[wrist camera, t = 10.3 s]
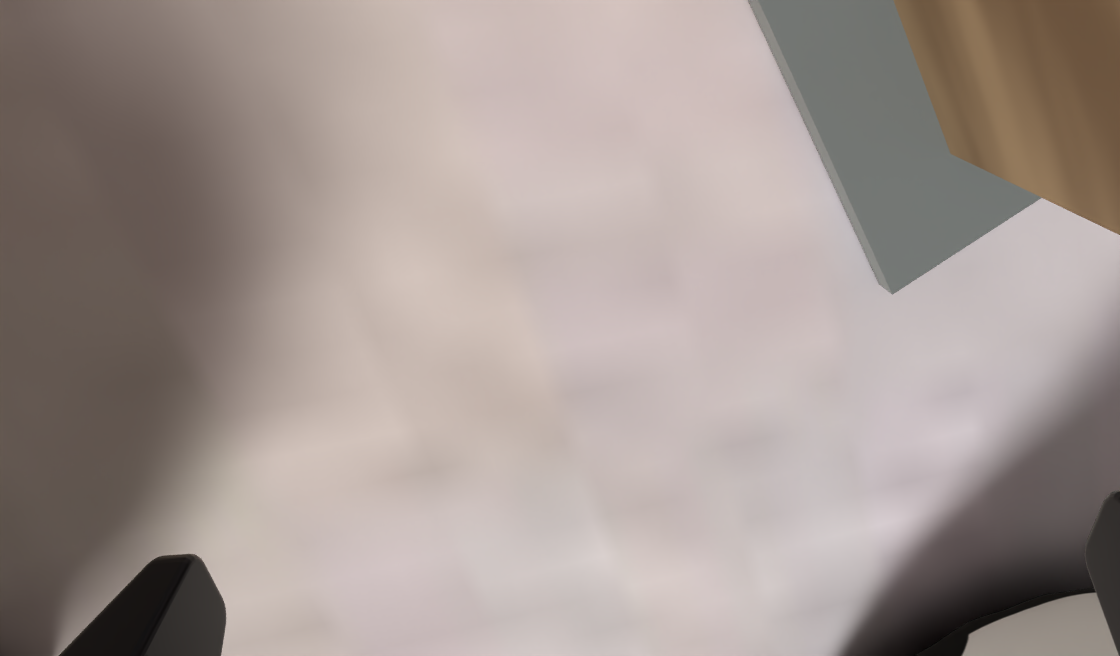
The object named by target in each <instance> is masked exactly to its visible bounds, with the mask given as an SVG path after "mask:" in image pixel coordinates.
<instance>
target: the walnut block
mask: <svg viewBox="0 0 1120 656" xmlns="http://www.w3.org/2000/svg"><path fill="white" fill-rule="evenodd" d="M893 1H894V3H895V6H896V9H897V11H898V14H899V17H900V19H901V22H902V25H903V27H904V30H905V33H906V36H907V38H908V41H909V44H910V46H911V49H912V52H913V54H914V57H915V60H916V62H917V65H918V68H919V70H920V73H921V76H922V78H923V81H924V84H925V86H926V89H927V92H928V95H929V97H930V100H931V103H932V105H933V108H934V111H935V113H936V116H937V119H938V121H939V124H940V127H941V129H942V132H943V135H944V137H945V140H946V143H947V145H948V148H949V151H950V154H952V155H954V156H956V157H958V158H960V159H962V160H964V161H967V162H969V163H971V164H973V165H975V166H977V167H979V168H981V169H983V170H985V171H987V172H989V173H992V174H994V175H996V176H998V177H1000V178H1002V179H1004V180H1006V181H1008V182H1010V183H1012V184H1015V185H1017V186H1019V187H1021V188H1023V189H1025V190H1027V191H1029V192H1031V193H1033V194H1035V195H1037V196H1040V197H1042V198H1044V199H1046V200H1048V201H1050V202H1052V203H1054V204H1056V205H1058V206H1060V207H1063V208H1065V209H1067V210H1069V211H1071V212H1073V213H1075V214H1077V215H1079V216H1081V217H1083V218H1085V219H1088V220H1090V221H1092V222H1094V223H1096V224H1098V225H1100V226H1102V227H1104V228H1106V229H1108V230H1110V231H1113V232H1115V233H1117V234H1119V235H1120V0H893Z"/></svg>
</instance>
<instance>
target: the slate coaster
mask: <svg viewBox="0 0 1120 656" xmlns="http://www.w3.org/2000/svg"><path fill="white" fill-rule="evenodd" d="M748 2H749V4H750V6H751V8H752V10H753V12H754V15H755V17H756V19H757V21H758V23H759V25H760V28H761V30H762V32H763V34H764V36H765V38H766V41H767V43H768V45H769V47H770V49H771V51H772V54H773V56H774V58H775V60H776V62H777V64H778V67H779V69H780V71H781V73H782V75H783V77H784V79H785V82H786V84H787V86H788V88H789V90H790V92H791V95H792V97H793V99H794V101H795V103H796V105H797V108H798V110H799V112H800V114H801V116H802V118H803V121H804V123H805V125H806V127H807V129H808V131H809V134H810V136H811V138H812V140H813V142H814V144H815V147H816V149H817V151H818V153H819V155H820V157H821V160H822V162H823V164H824V166H825V168H826V170H827V173H828V175H829V177H830V179H831V181H832V183H833V186H834V188H835V190H836V192H837V194H838V196H839V199H840V201H841V203H842V205H843V207H844V209H845V211H846V214H847V216H848V218H849V220H850V222H851V224H852V227H853V229H854V231H855V233H856V235H857V237H858V240H859V242H860V244H861V246H862V248H863V250H864V253H865V255H866V257H867V259H868V261H869V263H870V266H871V268H872V270H873V272H874V274H875V276H876V279H877V281H878V283H879V285H881V286H882V287H883V288H885V289H886V290H887V291H888V292H890V293H891V294H894V293H896V292H897V291H899V290H900V289H902V288H903V287H905V286H906V285H908V284H909V283H911V282H912V281H914V280H916V279H917V278H919V277H920V276H922V275H923V274H925V273H926V272H928V271H929V270H931V269H932V268H934V267H936V266H937V265H939V264H940V263H942V262H943V261H945V260H946V259H948V258H949V257H951V256H952V255H954V254H956V253H957V252H959V251H960V250H962V249H963V248H965V247H966V246H968V245H969V244H971V243H972V242H974V241H976V240H977V239H979V238H980V237H982V236H983V235H985V234H986V233H988V232H989V231H991V230H993V229H994V228H996V227H997V226H999V225H1000V224H1002V223H1003V222H1005V221H1006V220H1008V219H1009V218H1011V217H1013V216H1014V215H1016V214H1017V213H1019V212H1020V211H1022V210H1023V209H1025V208H1026V207H1028V206H1029V205H1031V204H1033V203H1034V202H1036V201H1037V200H1039V199H1040V198H1042V197H1040V196H1037V195H1035V194H1033V193H1031V192H1029V191H1027V190H1025V189H1023V188H1021V187H1019V186H1017V185H1015V184H1012V183H1010V182H1008V181H1006V180H1004V179H1002V178H1000V177H998V176H996V175H994V174H992V173H989V172H987V171H985V170H983V169H981V168H979V167H977V166H975V165H973V164H971V163H969V162H967V161H964V160H962V159H960V158H958V157H956V156H954V155H952V154H950V151H949V148H948V145H947V143H946V140H945V137H944V135H943V132H942V129H941V127H940V124H939V121H938V119H937V116H936V113H935V111H934V108H933V105H932V103H931V100H930V97H929V95H928V92H927V89H926V86H925V84H924V81H923V78H922V76H921V73H920V70H919V68H918V65H917V62H916V60H915V57H914V54H913V52H912V49H911V46H910V44H909V41H908V38H907V36H906V33H905V30H904V27H903V25H902V22H901V19H900V17H899V14H898V11H897V9H896V6H895V3H894V1H893V0H748Z"/></svg>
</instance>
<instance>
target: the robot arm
mask: <svg viewBox="0 0 1120 656" xmlns="http://www.w3.org/2000/svg"><path fill="white" fill-rule="evenodd" d="M1085 561H1086V566H1087V569H1088V572H1089V575H1090V578H1091V580H1092V583H1093V586H1094V589H1095V591H1096V594H1097V597H1098V600H1099V603H1100V605H1101V608H1102V611H1103V614H1104V616H1105V619H1106V622H1107V625H1108V627H1109V630H1110V633H1111V636H1112V639H1113V641H1114V644H1115V647H1116V650H1117V652H1118V655H1119V656H1120V491H1114V492H1112V493H1111V494H1109V495H1108V496H1107V497H1106V498H1105V500H1104V502H1103V504H1102V506H1101V509H1100V511H1099V513H1098V516H1097V518H1096V520H1095V523H1094V525H1093V527H1092V530H1091V532H1090V534H1089V537H1088V539H1087V542H1086V546H1085ZM225 626H226V608H225V604H224V601H223V598H222V596H221V594H220V593H219V591H218V589H217V587H216V585H215V583H214V581H213V579H212V577H211V575H210V573H209V572H208V570H207V568H206V566H205V564H204V562H203V561H202V559H201V558H200V557H198V556H197V555H195V554H182V555H167V556H161V557H158V558H155V559H154V560H152V561H151V562H150V563H148V564H147V565H146V566H145V567H144V568H143V569H142V570H141V572H140V573H139V574H138V575H137V576H136V577H135V578H134V579H133V580H132V581H131V582H130V583H129V584H128V585H127V586H126V587H125V588H124V589H123V590H122V591H121V592H120V593H119V594H118V595H117V596H116V597H115V598H114V599H113V600H112V601H111V602H110V603H109V604H108V605H107V606H106V608H105V609H104V610H103V611H102V612H101V613H100V614H99V615H98V616H97V617H96V618H95V619H94V620H93V621H92V622H91V623H90V624H89V625H88V626H87V627H86V628H85V629H84V630H83V631H82V632H81V633H80V634H79V635H78V636H77V637H76V638H75V639H74V640H73V641H72V643H71V644H70V645H69V646H68V647H67V648H66V649H65V650H64V651H63V652H62V653H61V654H60V655H59V656H221V653H222V646H223V639H224V633H225Z"/></svg>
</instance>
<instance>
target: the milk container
mask: <svg viewBox="0 0 1120 656" xmlns="http://www.w3.org/2000/svg"><path fill="white" fill-rule="evenodd" d="M915 656H1119V655H1118V652H1117V650H1116V647H1115V644H1114V641H1113V639H1112V636H1111V633H1110V630H1109V627H1108V625H1107V622H1106V619H1105V616H1104V614H1103V611H1102V608H1101V605H1100V603H1099V600H1098V597H1097V594H1096V591H1095V589H1084V590H1075V591H1069V592H1062V593H1055V594H1047V595H1042V596H1039V597H1036V598H1034V599H1031V600H1028V601H1025V602H1023V603H1021V604H1018V605H1016V606H1013V607H1011V608H1009V609H1006V610H1003V611H1000V612H996V613H993V614H990V615H986V616H983V617H981V618H978V619H975V620H972V621H969V622H967V623H966V624H964V625H963V626H961V627H959V628H958V629H956V630H955V631H953V632H951V633H950V634H948V635H947V636H946V637H944V638H943V639H941V640H940V641H938V642H937V643H936V644H934V645H932V646H931V647H929V648H927V649H925V650H924V651H922V652H920V653H918V654H916V655H915Z"/></svg>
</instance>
